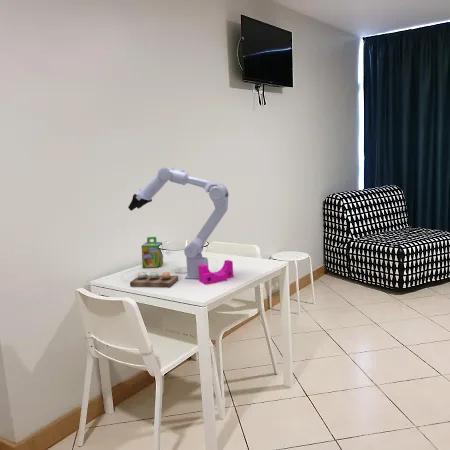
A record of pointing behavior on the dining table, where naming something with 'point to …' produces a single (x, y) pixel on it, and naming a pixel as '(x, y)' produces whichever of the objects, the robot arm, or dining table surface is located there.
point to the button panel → (154, 281)
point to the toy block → (219, 276)
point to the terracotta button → (165, 275)
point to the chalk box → (152, 254)
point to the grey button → (142, 274)
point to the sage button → (153, 274)
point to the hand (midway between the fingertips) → (133, 208)
